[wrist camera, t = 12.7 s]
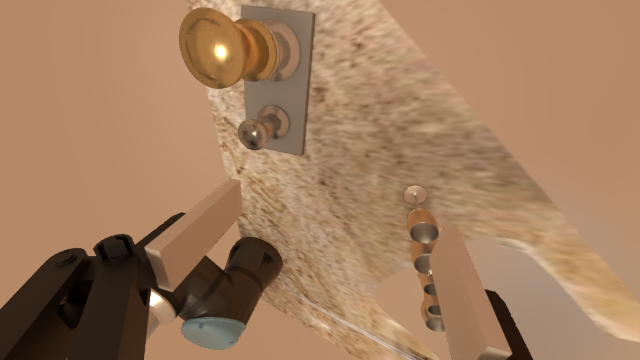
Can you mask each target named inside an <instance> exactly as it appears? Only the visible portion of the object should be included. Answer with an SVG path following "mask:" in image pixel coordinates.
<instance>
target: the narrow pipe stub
mask: <svg viewBox="0 0 640 360" xmlns="http://www.w3.org/2000/svg"><path fill="white" fill-rule="evenodd" d="M289 127H290V121H289V117H288V115H287V113H286V112H285V111H284V110H283V109H282V108H280V107H279V106H276V105H268V106H266V107H264V108H262V109H261V110H260V111H259V113H258V116H257V120H255V119H248V120H246V121H244V122H242V123H241V124H240V126H239V128H238V136H239V139H240V141H241V142H242V144H243V145H244V146H245V147H247V148H248V149H251V150H260V149H261V148H263V147H264V146H265V145H266V144H267V142H268V139H269V138H271V139H279V138H282V137H283V136H284V135H286V133H287V132H288V130H289Z"/></svg>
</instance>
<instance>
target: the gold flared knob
mask: <svg viewBox="0 0 640 360" xmlns="http://www.w3.org/2000/svg"><path fill="white" fill-rule="evenodd" d="M179 45H180V50H181V54H182V57H183V59H184V62H185V64H186V66H187V68H188V69H189V71H190V72H191V73H192V74H193V76H194V77H195V78H196V79H197V80H199V81H200V82H201V83H203V84H204V85H206V86H208V87H211V88H215V89H222V88H227V87H230V86H233V85H234V84H236V83H237V82H238V81H239V80H240V79H241V78H242V79H244V80H246V81H251V82H256V81H261V80H264V79H265V78H267V77H268V76H269V75H270V74H271V73H272V72H273V70H274V68H275V65H276V61H277V48H276V44H275V41H274V38H273V36H272V34H271V33H270V31H269V30H268V29H267V28H266V27H265V26H264V25H263V24H262V23H260V22H258V21H256V20H252V19H248V18H244V19H239V20H237V21H235V22H233V21H232V20H231V19H230V18H229V17H228V16H226V15H225V14H223V13H222V12H220V11H217V10H214V9H210V8H197V9H194V10H192V11H191V12H189V13H188V14H187V15H186V17H185V18H184V20H183V22H182V24H181V27H180V32H179Z"/></svg>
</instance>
